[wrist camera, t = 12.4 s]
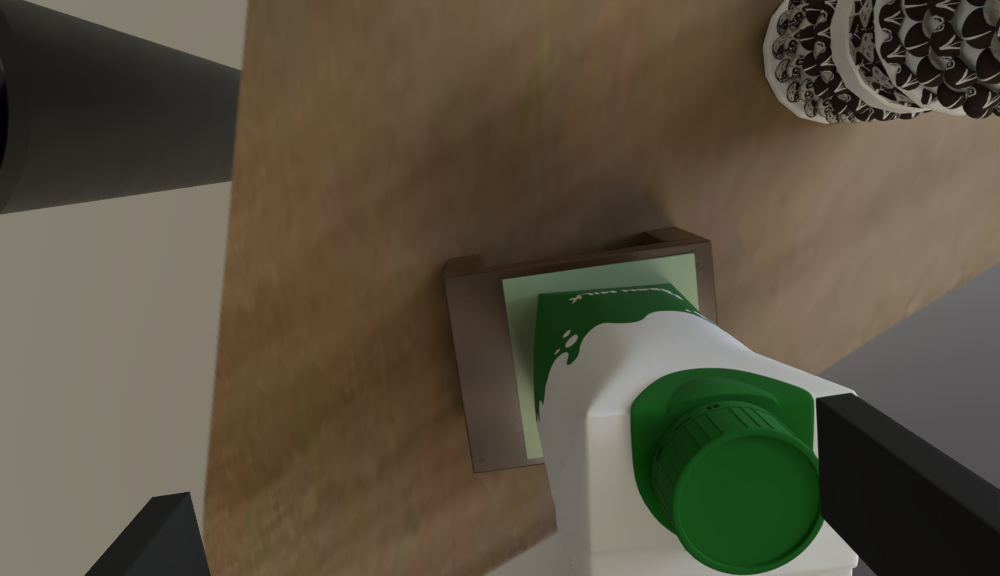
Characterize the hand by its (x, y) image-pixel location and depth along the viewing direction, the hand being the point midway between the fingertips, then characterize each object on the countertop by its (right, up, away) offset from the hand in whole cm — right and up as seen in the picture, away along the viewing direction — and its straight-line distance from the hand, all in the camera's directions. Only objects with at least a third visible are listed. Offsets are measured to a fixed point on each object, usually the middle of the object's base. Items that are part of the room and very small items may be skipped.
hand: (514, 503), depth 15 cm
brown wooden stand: (+4, +2, +29) cm, 30 cm away
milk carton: (+5, +1, +23) cm, 24 cm away
